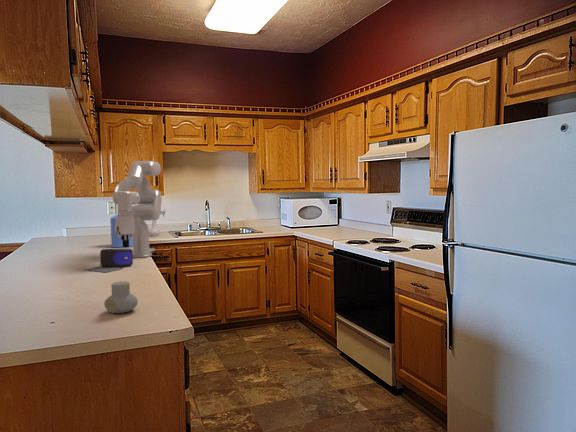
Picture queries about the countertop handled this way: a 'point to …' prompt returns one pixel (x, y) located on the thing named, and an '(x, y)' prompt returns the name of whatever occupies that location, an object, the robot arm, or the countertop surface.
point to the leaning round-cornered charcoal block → (116, 257)
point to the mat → (103, 269)
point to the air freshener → (120, 298)
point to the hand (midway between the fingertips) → (125, 247)
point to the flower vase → (155, 227)
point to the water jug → (115, 240)
